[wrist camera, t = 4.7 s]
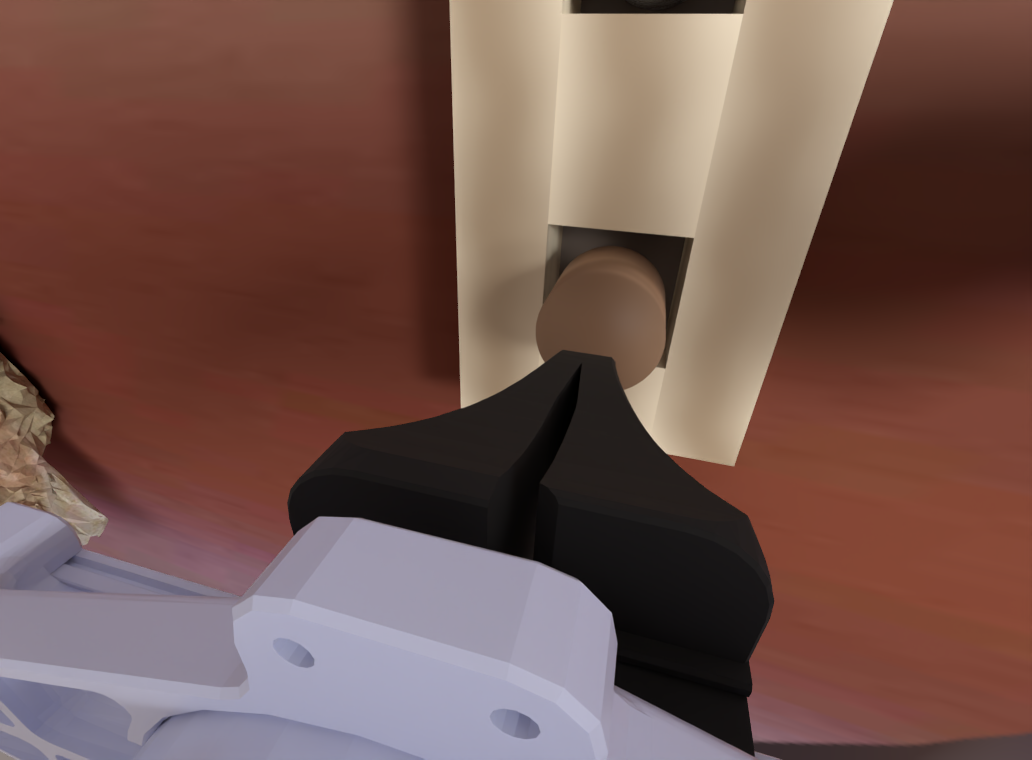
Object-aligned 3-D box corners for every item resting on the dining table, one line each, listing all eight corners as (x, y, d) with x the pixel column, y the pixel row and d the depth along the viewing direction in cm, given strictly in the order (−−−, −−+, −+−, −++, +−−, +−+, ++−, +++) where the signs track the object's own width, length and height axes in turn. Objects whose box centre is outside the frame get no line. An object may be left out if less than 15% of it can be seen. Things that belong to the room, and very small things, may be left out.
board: (999, -466, 11) (1128, -685, 8) (724, 419, 23) (733, 466, 20) (486, -376, 13) (434, -515, 10) (484, 379, 25) (461, 415, 22)
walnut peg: (675, 252, 16) (678, 283, 13) (654, 356, 18) (652, 402, 15) (559, 240, 17) (539, 267, 14) (552, 341, 19) (532, 382, 16)
